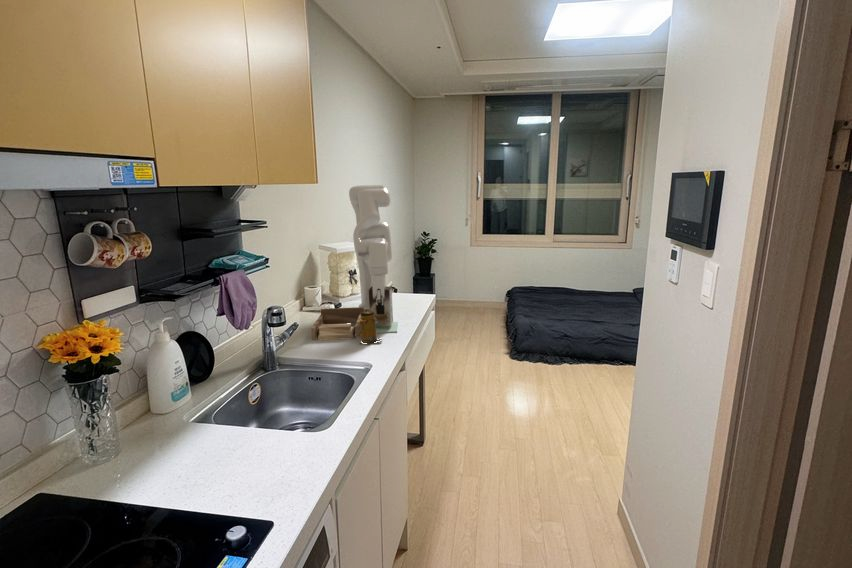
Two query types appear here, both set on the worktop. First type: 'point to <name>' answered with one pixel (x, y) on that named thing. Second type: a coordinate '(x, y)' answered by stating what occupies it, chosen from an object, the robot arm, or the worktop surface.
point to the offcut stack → (336, 331)
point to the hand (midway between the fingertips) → (381, 311)
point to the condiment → (368, 327)
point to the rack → (338, 319)
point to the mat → (387, 328)
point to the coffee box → (387, 317)
